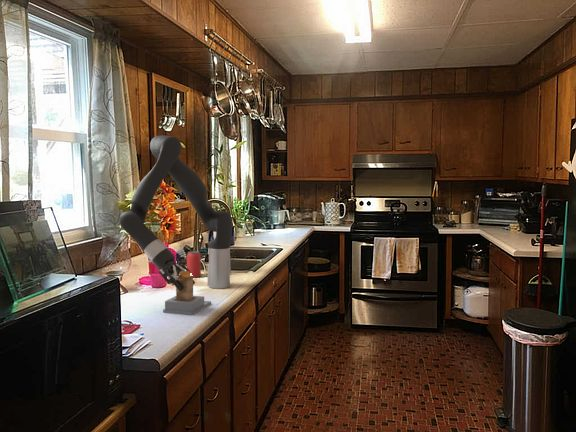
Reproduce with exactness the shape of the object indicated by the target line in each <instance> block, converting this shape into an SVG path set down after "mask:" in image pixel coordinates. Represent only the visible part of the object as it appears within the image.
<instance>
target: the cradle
mask: <svg viewBox="0 0 576 432" xmlns="http://www.w3.org/2000/svg"><path fill="white" fill-rule="evenodd" d="M210 305H212V301H211V300H205V296H200V295H193V300H191V301H189V302H187V301H176V295H175V296H173V297H171V298H169V299H166V300H165V301H164V309H162V313H163V314H175V315H176V314H177V315H186V314H187V316H193V315H195V314H197V313H199V312H200V311H202V310H203V309H205V308H207V307H209V306H210Z"/></svg>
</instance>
